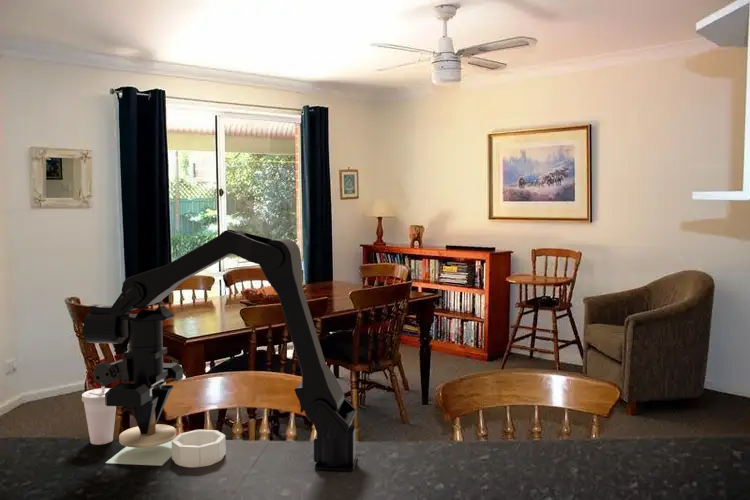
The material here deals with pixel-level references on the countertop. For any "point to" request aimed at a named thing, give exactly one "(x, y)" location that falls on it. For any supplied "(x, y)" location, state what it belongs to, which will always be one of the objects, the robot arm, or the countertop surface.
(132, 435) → the lid
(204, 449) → the white octagonal pot
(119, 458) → the mat
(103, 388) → the smoothie
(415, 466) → the countertop surface
